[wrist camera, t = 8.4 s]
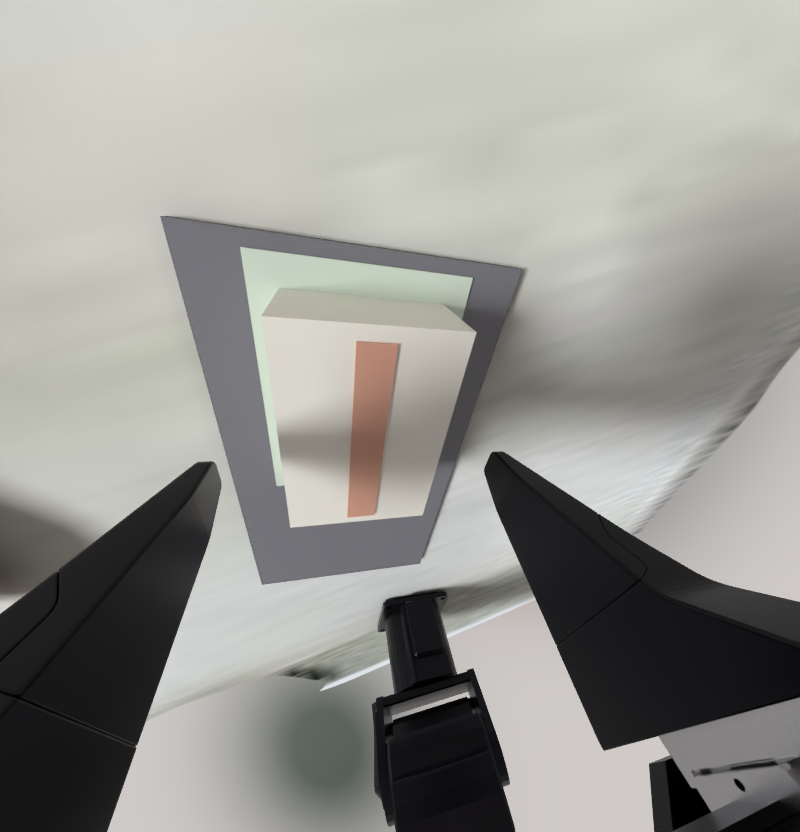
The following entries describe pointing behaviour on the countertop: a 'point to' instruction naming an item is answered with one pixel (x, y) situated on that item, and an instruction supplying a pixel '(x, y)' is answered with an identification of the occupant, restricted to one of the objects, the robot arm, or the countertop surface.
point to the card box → (361, 401)
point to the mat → (250, 383)
